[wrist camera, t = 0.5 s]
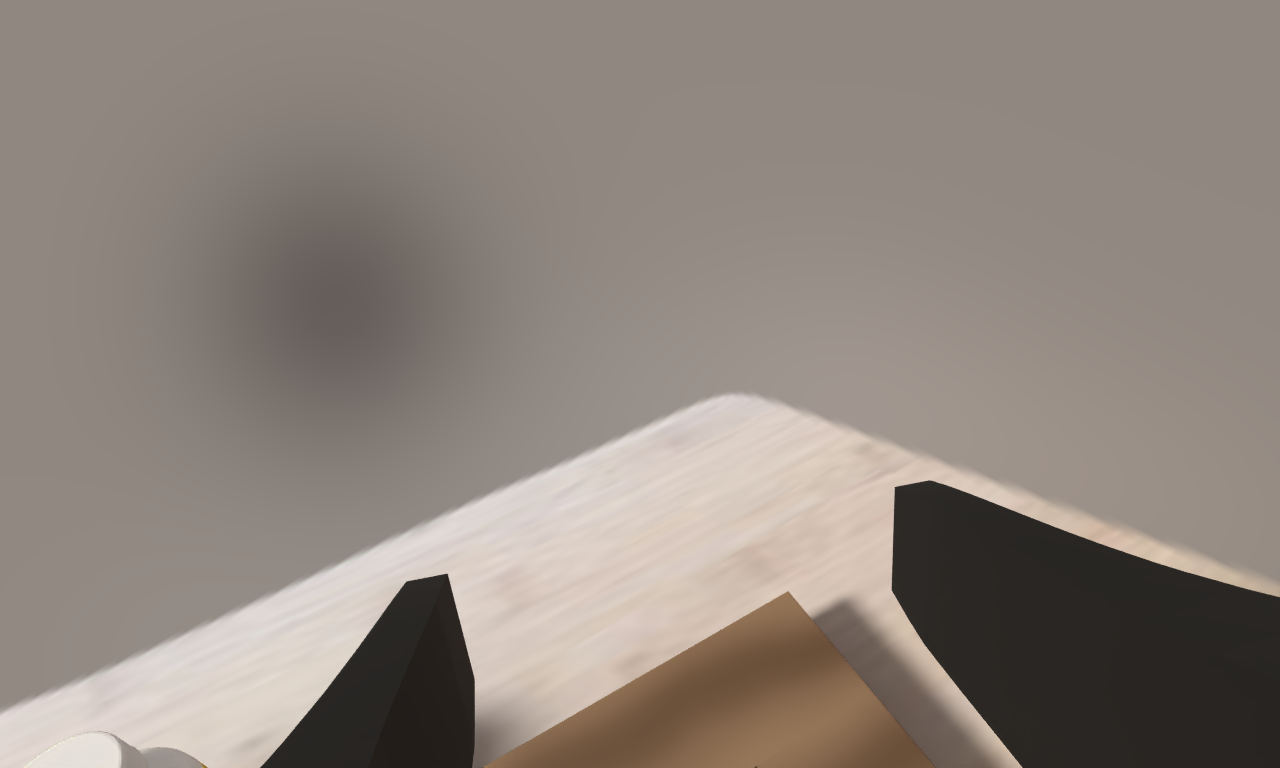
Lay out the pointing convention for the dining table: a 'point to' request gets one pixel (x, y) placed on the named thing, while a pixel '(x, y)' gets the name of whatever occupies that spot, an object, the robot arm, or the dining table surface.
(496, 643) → the dining table surface
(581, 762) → the socket block
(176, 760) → the supplement bottle
